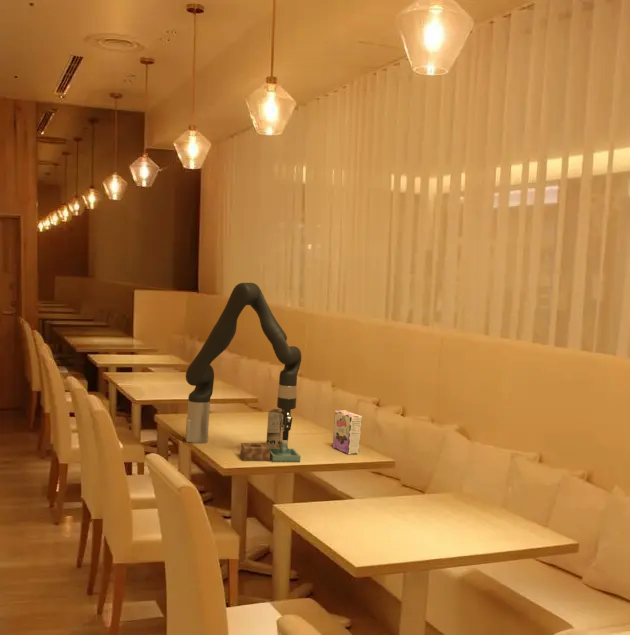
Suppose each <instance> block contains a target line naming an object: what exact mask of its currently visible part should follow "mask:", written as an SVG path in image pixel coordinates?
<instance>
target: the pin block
mask: <svg viewBox="0 0 630 635" xmlns="http://www.w3.org/2000/svg"><path fill="white" fill-rule="evenodd" d="M240 457H241V458H242V460H243V461H244V462H270V461H271V459H270V448H269V446H268V445H267V444H266V442H240Z"/></svg>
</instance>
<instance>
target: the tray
mask: <svg viewBox="0 0 630 635" xmlns="http://www.w3.org/2000/svg"><path fill="white" fill-rule="evenodd" d="M279 451H280V448H270V461H271V462H272V463H301V455H300V454H299V453H298V452H297V451H296V450H295V449H294V448H288V452H287V454H282V453H279Z"/></svg>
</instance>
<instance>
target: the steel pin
mask: <svg viewBox="0 0 630 635" xmlns="http://www.w3.org/2000/svg"><path fill="white" fill-rule="evenodd" d="M289 435H290V434H289ZM289 435H288V437H289ZM282 438H283V427H282V428H281V436H280V451H279V453H282V454H287V452H288V449H289V448H288V447H289V439H288V440H283V439H282Z"/></svg>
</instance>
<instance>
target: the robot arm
mask: <svg viewBox="0 0 630 635" xmlns="http://www.w3.org/2000/svg"><path fill="white" fill-rule="evenodd" d="M247 306H250V307H251V308H252V309H253V310H254V311H255V313H256V315H257V317H258V320H259V322H260V327H261V330H262V332H263V333H264V335H265V337H266V338H267V340H268V342H270V344H271V346H272V349H273V352H274V354H275V357H276V358H277V359H278V361H279V362H280V363H281V364H283V365H284V367H283V369H282V370H280V373H279V377H278V379H279V380H278V389H277V399H276V400H277V402H276V407H277V409H282V411H280V412H279V414H280V428H282V427H283V438H282V439H283V440H288V441H289V436H288V435H290V434H289V432H290V431H291V428H292V423H293V417H292V415H293V413H292V412H291V411H292V410H295V409H296V408H297V407H296V406H297V394H298V392H297V391H298V390H297V383H298V373H299V370H300V367H301V362H302V352H301V350H300V348H299V347H298V346H295V345H292V346H290V345H288V343H287V340H288V336H287V334H286V332H285V330H284V329H283V328H282V326H281V325H280V324H279V322H278V321H277V319H276V317H275V316H274V315H273V312H272V310H271V309H270V306H269V305H268V303H267V300H266V298H265V296H264V294H263V292H262V290H261V289H260V287H259V285H257V284H256V283H255V282H240V283H237V284H235V286H234V288H233V290H232V292H231V293H230V295H229V298H228V301H227V303H226V305H225V306H224V309H223V311H222V312H221V314H220V316H219V317H218V320H217V321H216V323H215V325H214V326H213V328H212V329H211V331H210V332H209V335H208V336H207V339H206V340H205V342H204V343H203V345H202V347H201V349H200V350H199V352H198V353H197V355H196V356H195V358H194V359H193V360H192V362H191V363H190V364H189V366H188V368H187V370H186V372H185V380H186V382H187V383H188V385H190V386H192V387H193V386H194V389H193V391H191V392H190V393H189V394H188V399H187V416H186V422H185V423H186V425H185V441H186V442H187V443H193V444H195V443H196V444H203V443H208V441H209V440H208V439H209V425H210V410H211V409H210V408H211V397H212V395H213V392H214V382H215V371H214V368H213V366H212V365H211V364H212V362H213V361H215V360H216V358H218V357H219V356H220V355H221V354H222V353H223V352H224V351H226V349H227V348H229V345H230V344H231V342H232V340H233V339H234V337H235V335H236V333H237V326H238V319H239V317H240V315H241V313H242V312H243V310H244V308H245V307H247Z"/></svg>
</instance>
